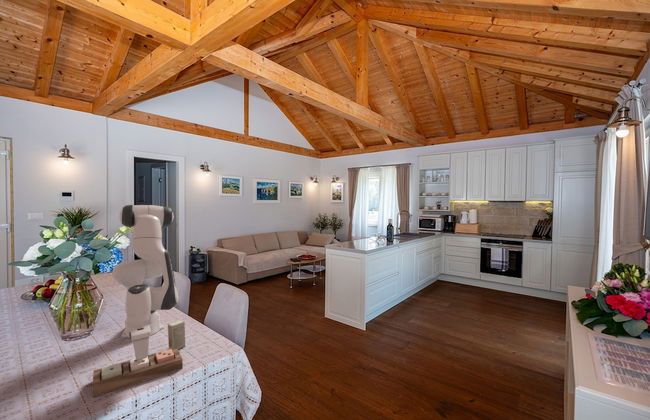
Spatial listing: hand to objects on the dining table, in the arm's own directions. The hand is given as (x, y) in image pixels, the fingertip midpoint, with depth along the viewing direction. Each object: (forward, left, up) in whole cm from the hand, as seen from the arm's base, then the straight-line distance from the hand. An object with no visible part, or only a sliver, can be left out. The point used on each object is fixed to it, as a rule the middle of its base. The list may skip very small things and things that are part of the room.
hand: (139, 360), depth 116 cm
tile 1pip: (0, -9, -5) cm, 11 cm away
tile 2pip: (0, 0, -5) cm, 5 cm away
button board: (0, 0, -6) cm, 6 cm away
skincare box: (-14, +16, -6) cm, 22 cm away
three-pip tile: (0, +9, -5) cm, 10 cm away
